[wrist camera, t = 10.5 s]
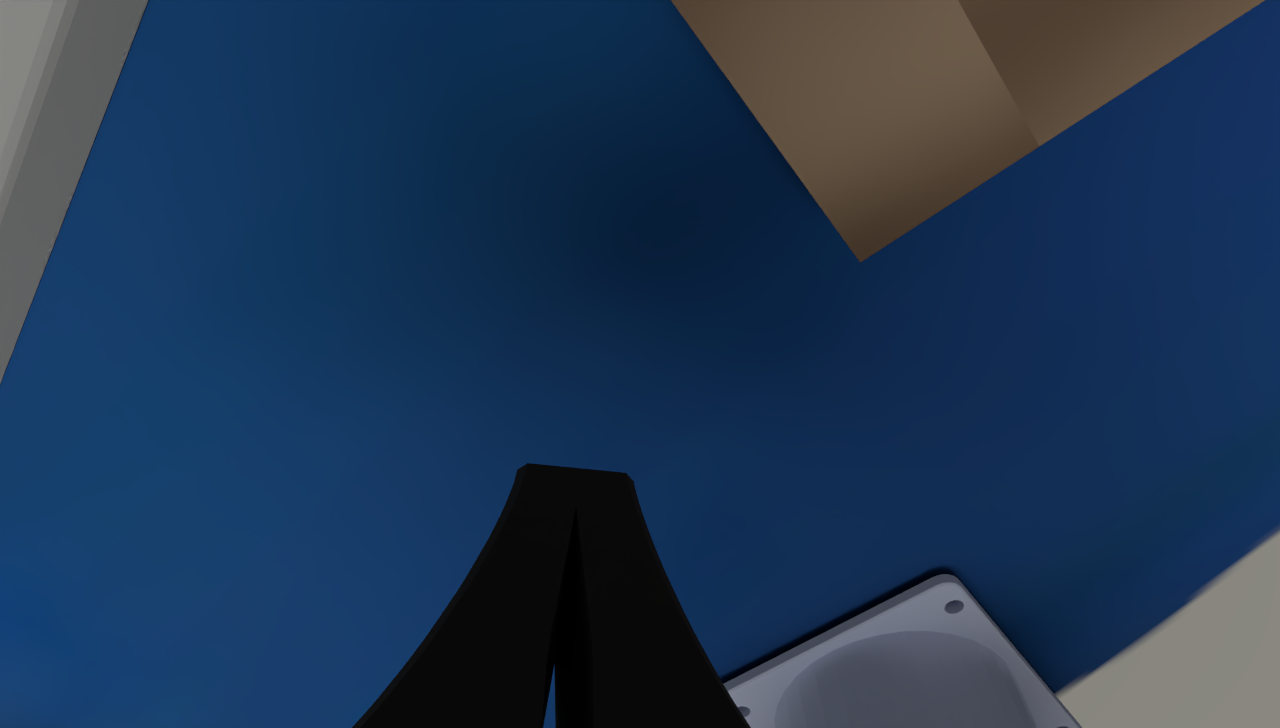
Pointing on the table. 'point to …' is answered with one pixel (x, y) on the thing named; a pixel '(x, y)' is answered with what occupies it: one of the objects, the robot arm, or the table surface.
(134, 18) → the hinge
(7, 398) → the table surface
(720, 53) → the block
